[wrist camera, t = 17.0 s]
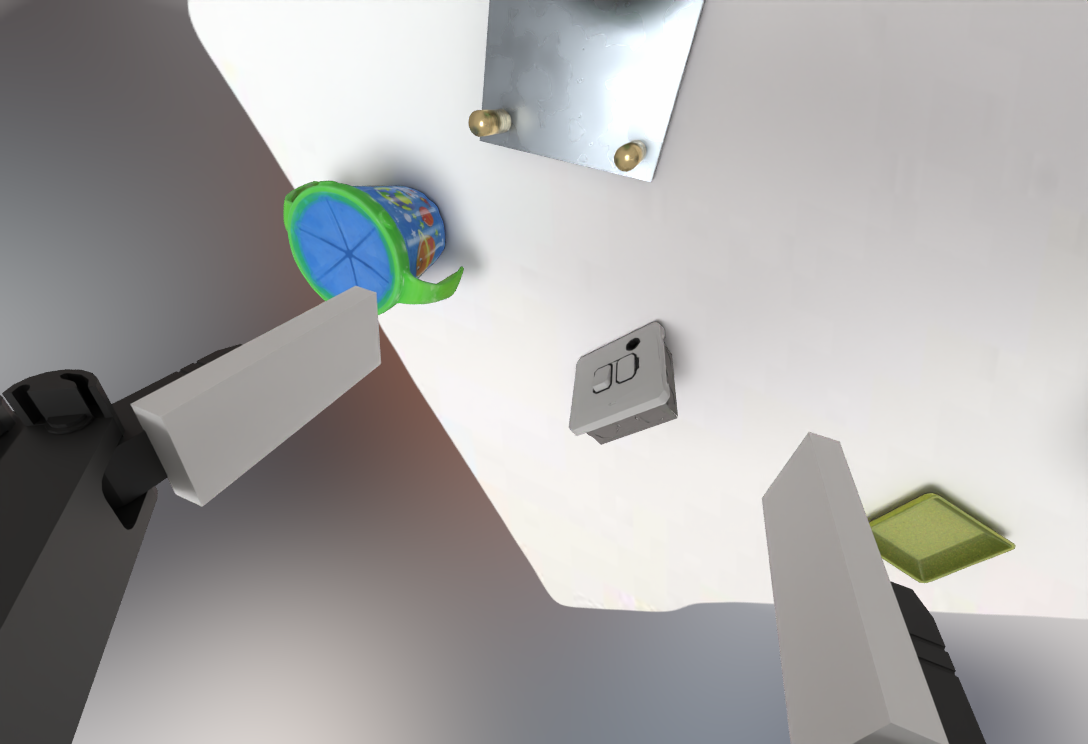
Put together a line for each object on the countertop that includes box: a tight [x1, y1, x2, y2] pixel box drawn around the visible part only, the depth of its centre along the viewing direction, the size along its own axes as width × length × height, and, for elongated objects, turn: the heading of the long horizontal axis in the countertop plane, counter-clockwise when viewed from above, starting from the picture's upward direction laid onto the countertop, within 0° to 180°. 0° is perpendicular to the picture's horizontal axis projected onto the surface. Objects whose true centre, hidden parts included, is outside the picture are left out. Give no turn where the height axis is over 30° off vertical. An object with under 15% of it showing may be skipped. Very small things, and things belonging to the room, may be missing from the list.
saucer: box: [869, 493, 1015, 583], centre depth 41 cm, size 9×9×2 cm
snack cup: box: [284, 181, 464, 315], centre depth 38 cm, size 16×10×10 cm
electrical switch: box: [569, 322, 678, 444], centre depth 39 cm, size 9×5×9 cm, turn 128°
